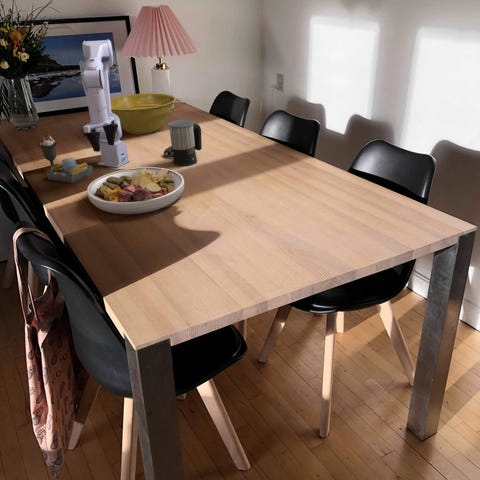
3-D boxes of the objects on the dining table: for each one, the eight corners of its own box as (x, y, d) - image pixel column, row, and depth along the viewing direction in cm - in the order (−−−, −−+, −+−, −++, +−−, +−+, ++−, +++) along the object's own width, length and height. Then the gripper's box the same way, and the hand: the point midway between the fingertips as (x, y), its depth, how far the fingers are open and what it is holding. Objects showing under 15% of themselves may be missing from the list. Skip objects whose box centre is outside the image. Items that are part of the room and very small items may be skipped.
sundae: (57, 173, 184) (48, 132, 177) (40, 172, 185) (31, 132, 178) (66, 167, 190) (57, 127, 183) (49, 166, 191) (41, 127, 184)
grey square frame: (93, 172, 183) (91, 162, 181) (72, 183, 174) (69, 172, 173) (69, 168, 187) (67, 158, 186) (48, 179, 179) (45, 168, 177)
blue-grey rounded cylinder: (80, 174, 182) (77, 158, 179) (72, 179, 178) (69, 162, 175) (71, 173, 183) (67, 157, 180) (62, 177, 180) (59, 161, 177)
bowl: (85, 189, 170) (80, 167, 166) (172, 175, 178) (170, 154, 175) (95, 226, 145) (90, 201, 141) (196, 207, 153) (194, 183, 150)
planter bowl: (117, 121, 245) (112, 93, 239) (183, 120, 243) (180, 91, 237) (98, 141, 217) (92, 110, 210) (172, 140, 215) (169, 108, 209)
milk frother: (190, 167, 184) (187, 127, 177) (152, 164, 189) (147, 124, 182) (206, 155, 196) (203, 117, 189) (169, 152, 201) (165, 114, 194)
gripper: (92, 113, 160) (99, 155, 166) (121, 104, 172) (126, 143, 178) (75, 112, 163) (83, 153, 169) (104, 103, 175) (110, 141, 181)
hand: (104, 148), depth 174 cm, fingers open, 7 cm apart
